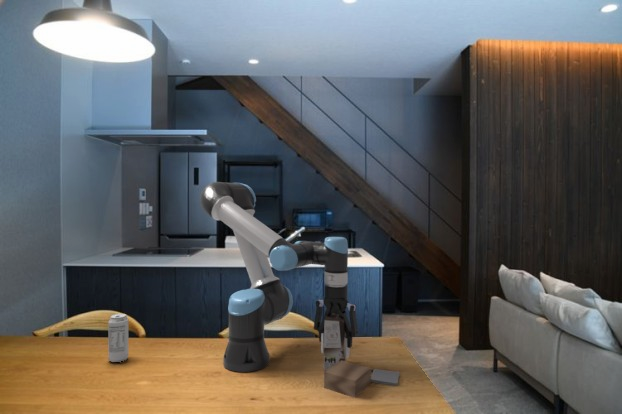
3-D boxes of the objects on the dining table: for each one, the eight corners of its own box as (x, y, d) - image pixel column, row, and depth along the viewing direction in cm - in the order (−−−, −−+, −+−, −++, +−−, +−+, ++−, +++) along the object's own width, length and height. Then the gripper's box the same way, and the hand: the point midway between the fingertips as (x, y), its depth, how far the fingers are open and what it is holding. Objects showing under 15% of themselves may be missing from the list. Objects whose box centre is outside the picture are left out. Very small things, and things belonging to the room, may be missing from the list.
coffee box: (343, 372, 124) (343, 321, 124) (323, 370, 126) (323, 319, 125) (346, 360, 133) (347, 313, 133) (327, 359, 135) (328, 311, 134)
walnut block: (324, 389, 114) (324, 371, 114) (341, 376, 122) (341, 360, 122) (355, 398, 109) (355, 380, 108) (370, 384, 117) (371, 368, 117)
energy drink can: (131, 356, 136) (131, 313, 136) (123, 363, 130) (123, 318, 130) (113, 356, 136) (113, 313, 136) (105, 363, 130) (104, 318, 130)
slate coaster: (369, 382, 118) (369, 379, 118) (374, 371, 126) (374, 368, 126) (397, 386, 115) (397, 383, 115) (399, 374, 123) (399, 372, 123)
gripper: (302, 283, 131) (302, 352, 131) (361, 290, 121) (360, 364, 121) (313, 279, 137) (313, 345, 138) (369, 286, 128) (368, 356, 128)
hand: (335, 354), depth 129 cm, fingers closed on coffee box, 7 cm apart
